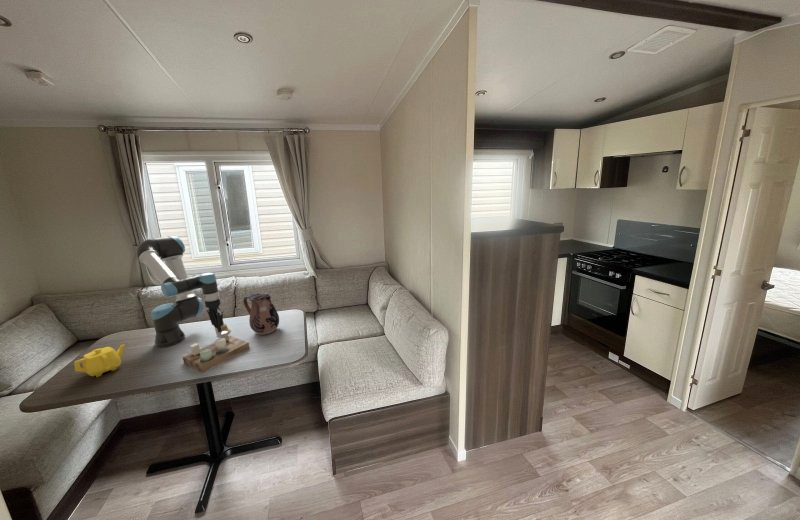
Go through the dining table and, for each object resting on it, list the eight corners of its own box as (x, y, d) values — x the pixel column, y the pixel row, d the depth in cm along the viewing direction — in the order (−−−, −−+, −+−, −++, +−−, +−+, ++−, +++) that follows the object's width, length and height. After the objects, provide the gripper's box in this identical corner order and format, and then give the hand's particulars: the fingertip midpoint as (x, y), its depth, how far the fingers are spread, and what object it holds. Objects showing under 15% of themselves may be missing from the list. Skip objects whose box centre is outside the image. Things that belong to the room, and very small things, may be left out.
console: (183, 363, 161) (182, 356, 160) (230, 341, 183) (229, 335, 182) (202, 372, 152) (201, 365, 151) (249, 348, 173) (248, 342, 172)
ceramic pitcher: (274, 337, 185) (268, 300, 179) (240, 339, 186) (233, 301, 180) (284, 325, 202) (279, 290, 196) (254, 326, 203) (248, 291, 197)
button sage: (199, 359, 156) (197, 352, 155) (209, 354, 160) (207, 348, 159) (204, 361, 153) (203, 354, 153) (214, 356, 158) (213, 350, 157)
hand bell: (233, 331, 197) (229, 308, 193) (222, 336, 190) (217, 313, 186) (225, 329, 200) (221, 307, 197) (213, 334, 193) (208, 311, 189)
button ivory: (214, 348, 162) (212, 341, 161) (223, 343, 166) (222, 337, 165) (219, 350, 160) (217, 343, 159) (228, 345, 164) (227, 339, 163)
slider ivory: (191, 354, 162) (189, 345, 161) (197, 351, 164) (195, 343, 163) (194, 355, 160) (192, 347, 159) (200, 352, 163) (198, 344, 162)
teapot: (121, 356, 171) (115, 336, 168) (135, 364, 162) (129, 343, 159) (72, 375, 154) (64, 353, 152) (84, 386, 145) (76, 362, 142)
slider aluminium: (221, 340, 175) (219, 333, 174) (226, 338, 178) (224, 330, 176) (224, 341, 174) (222, 334, 173) (229, 339, 176) (227, 331, 175)
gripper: (199, 299, 173) (207, 337, 178) (211, 303, 166) (219, 341, 172) (212, 295, 179) (219, 331, 184) (225, 298, 172) (232, 335, 178)
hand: (219, 336), depth 178 cm, fingers closed
